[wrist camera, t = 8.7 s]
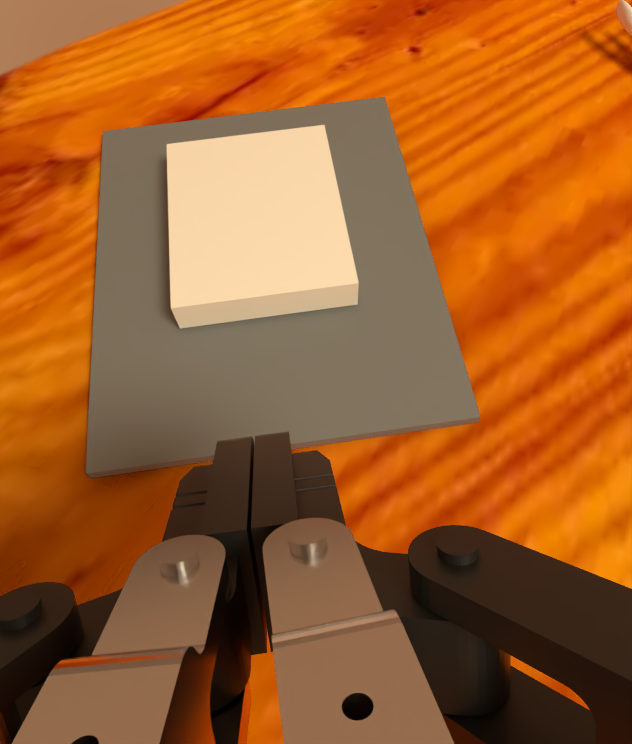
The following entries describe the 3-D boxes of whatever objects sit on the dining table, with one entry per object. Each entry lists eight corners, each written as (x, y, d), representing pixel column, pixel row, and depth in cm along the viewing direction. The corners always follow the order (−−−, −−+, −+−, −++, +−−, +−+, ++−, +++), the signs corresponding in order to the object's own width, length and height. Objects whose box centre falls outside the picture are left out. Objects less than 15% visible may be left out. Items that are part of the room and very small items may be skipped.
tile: (170, 308, 24) (166, 144, 28) (181, 331, 25) (175, 172, 30) (358, 283, 24) (324, 124, 29) (357, 307, 26) (324, 153, 30)
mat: (477, 422, 24) (480, 416, 23) (91, 478, 23) (85, 473, 22) (383, 106, 33) (384, 97, 32) (106, 140, 32) (102, 131, 32)
